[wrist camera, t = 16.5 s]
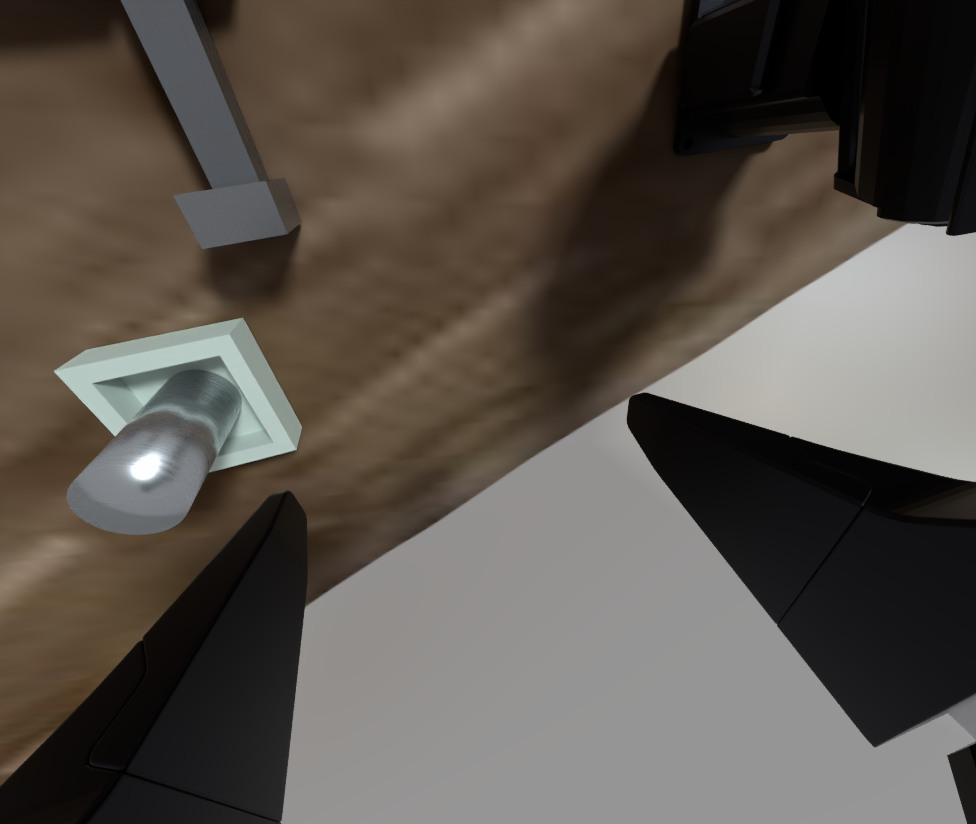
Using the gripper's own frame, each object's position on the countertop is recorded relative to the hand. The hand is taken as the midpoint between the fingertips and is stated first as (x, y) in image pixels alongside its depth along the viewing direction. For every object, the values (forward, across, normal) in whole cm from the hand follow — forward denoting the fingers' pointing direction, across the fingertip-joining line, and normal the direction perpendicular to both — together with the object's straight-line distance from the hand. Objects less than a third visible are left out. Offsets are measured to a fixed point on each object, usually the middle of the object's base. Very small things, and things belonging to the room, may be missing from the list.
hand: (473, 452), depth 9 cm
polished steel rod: (+11, +11, +2) cm, 16 cm away
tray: (+12, +12, +2) cm, 17 cm away
